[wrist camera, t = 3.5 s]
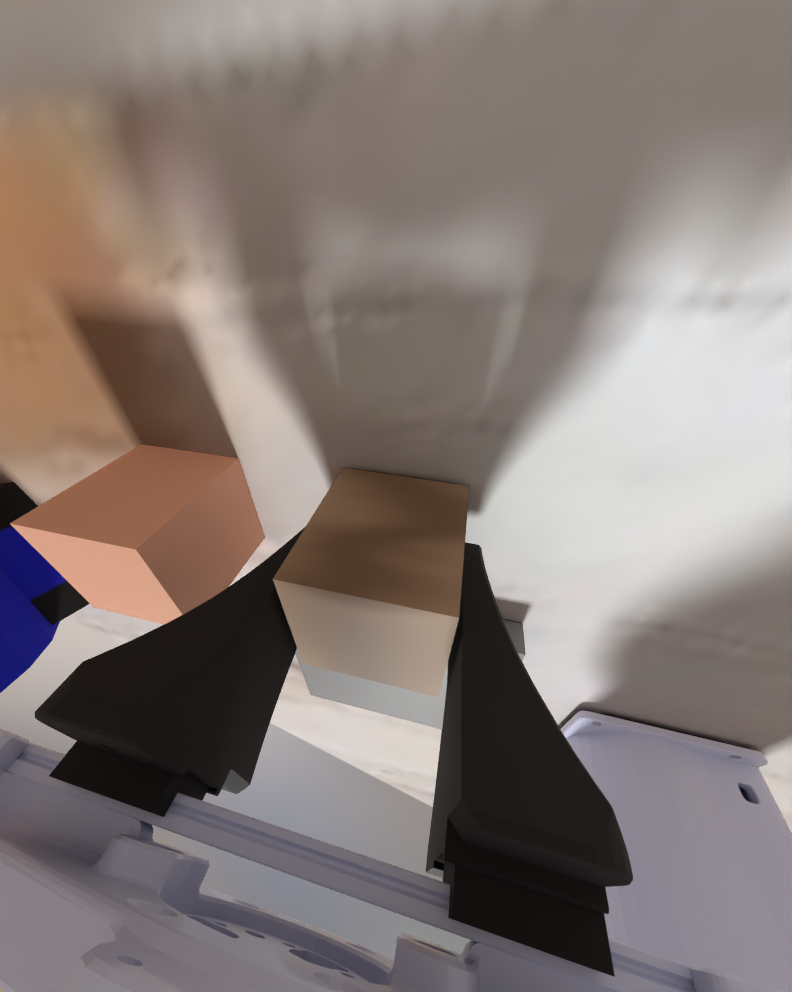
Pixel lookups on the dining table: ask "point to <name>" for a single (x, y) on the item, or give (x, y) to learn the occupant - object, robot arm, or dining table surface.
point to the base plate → (389, 690)
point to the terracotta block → (150, 531)
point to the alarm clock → (27, 592)
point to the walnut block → (379, 579)
